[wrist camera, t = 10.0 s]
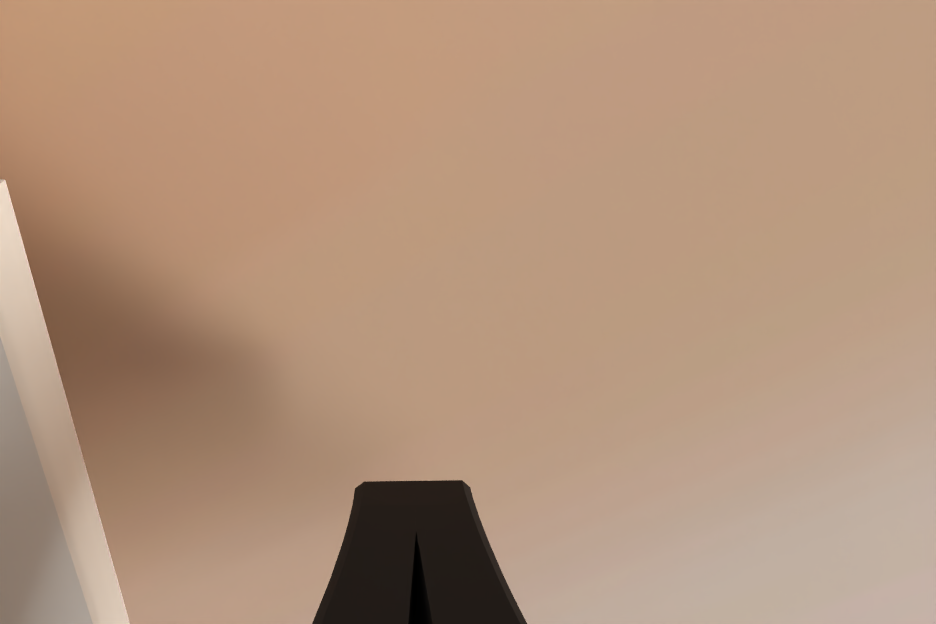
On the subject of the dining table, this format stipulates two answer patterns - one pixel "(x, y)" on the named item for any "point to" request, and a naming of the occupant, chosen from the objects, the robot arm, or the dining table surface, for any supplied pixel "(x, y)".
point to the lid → (43, 470)
